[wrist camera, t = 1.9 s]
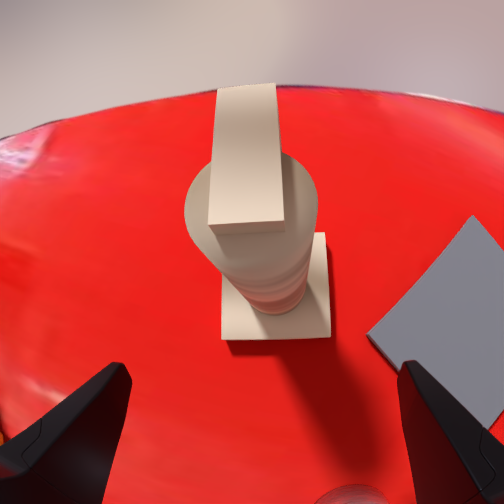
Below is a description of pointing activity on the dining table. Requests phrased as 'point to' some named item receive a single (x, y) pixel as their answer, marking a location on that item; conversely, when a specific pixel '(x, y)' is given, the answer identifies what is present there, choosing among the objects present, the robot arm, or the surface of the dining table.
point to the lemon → (1, 439)
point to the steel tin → (353, 495)
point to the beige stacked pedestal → (260, 224)
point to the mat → (455, 323)
